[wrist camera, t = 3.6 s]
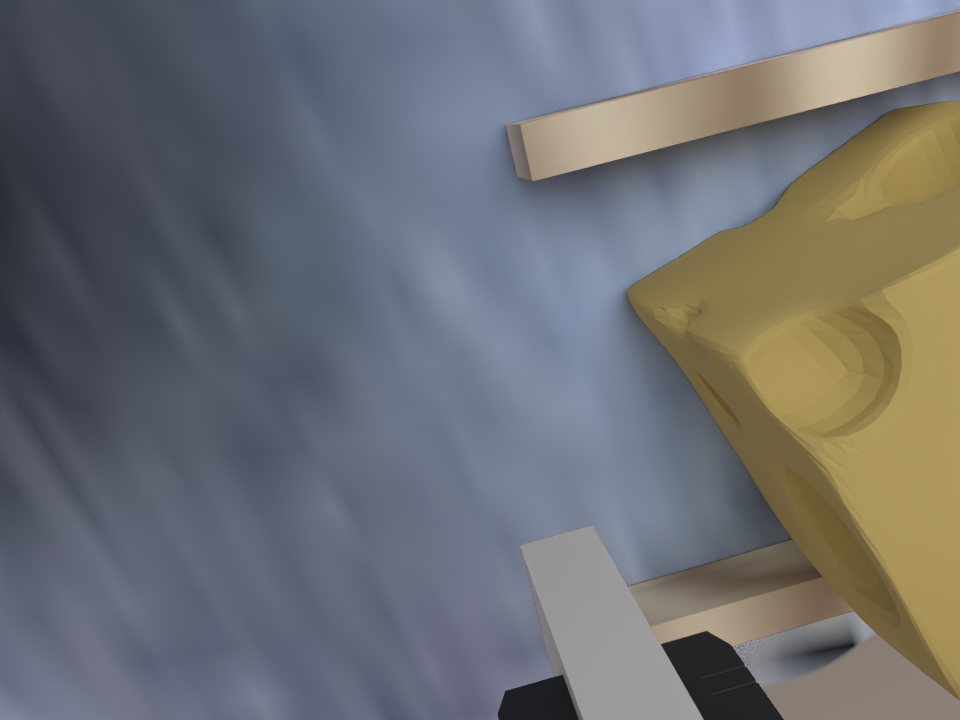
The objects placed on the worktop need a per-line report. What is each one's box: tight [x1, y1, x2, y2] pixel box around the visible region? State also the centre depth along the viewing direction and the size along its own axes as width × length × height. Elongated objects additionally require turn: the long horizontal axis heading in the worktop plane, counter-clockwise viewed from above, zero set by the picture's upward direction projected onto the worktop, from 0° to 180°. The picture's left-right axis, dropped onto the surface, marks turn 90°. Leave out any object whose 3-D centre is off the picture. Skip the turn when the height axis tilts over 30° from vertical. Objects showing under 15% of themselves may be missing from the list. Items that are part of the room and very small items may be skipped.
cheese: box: [627, 100, 960, 700], centre depth 24 cm, size 10×11×10 cm
